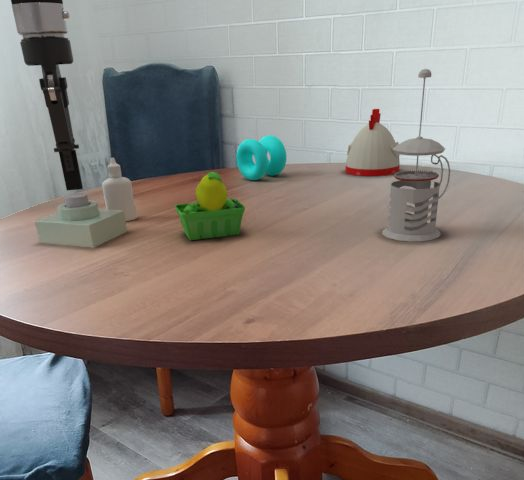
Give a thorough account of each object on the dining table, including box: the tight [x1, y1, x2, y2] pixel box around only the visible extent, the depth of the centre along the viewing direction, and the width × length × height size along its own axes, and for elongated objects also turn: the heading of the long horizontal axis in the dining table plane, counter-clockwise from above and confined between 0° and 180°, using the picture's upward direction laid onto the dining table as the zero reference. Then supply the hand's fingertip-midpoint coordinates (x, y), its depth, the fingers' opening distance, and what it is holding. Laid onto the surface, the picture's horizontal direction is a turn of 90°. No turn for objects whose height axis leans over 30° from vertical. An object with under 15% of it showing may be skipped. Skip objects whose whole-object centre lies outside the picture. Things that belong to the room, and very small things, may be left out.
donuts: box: [235, 134, 287, 181], centre depth 139 cm, size 10×10×10 cm
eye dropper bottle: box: [101, 157, 138, 222], centre depth 106 cm, size 4×6×12 cm
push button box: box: [34, 199, 128, 249], centre depth 98 cm, size 12×10×6 cm
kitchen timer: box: [344, 108, 401, 177], centre depth 139 cm, size 14×14×15 cm
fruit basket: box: [174, 171, 246, 241], centre depth 94 cm, size 11×9×11 cm
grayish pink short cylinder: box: [63, 192, 90, 208], centre depth 96 cm, size 4×4×2 cm
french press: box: [381, 68, 451, 242], centre depth 87 cm, size 10×12×25 cm
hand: (74, 188), depth 97 cm, fingers closed
